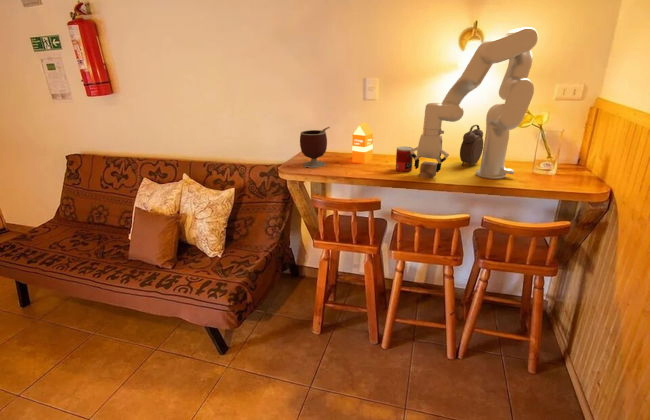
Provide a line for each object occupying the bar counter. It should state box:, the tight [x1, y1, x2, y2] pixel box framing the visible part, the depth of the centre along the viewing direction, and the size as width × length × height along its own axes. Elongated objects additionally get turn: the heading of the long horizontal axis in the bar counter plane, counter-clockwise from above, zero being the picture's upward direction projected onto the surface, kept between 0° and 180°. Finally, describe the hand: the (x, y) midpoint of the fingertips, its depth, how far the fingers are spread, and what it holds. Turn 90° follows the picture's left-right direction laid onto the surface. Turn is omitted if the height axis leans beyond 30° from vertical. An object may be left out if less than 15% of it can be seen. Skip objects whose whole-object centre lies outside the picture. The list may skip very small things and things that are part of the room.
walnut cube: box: [419, 160, 438, 180], centre depth 162 cm, size 6×6×6 cm
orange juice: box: [351, 121, 374, 164], centre depth 187 cm, size 8×9×20 cm
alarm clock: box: [459, 124, 484, 167], centre depth 175 cm, size 15×7×20 cm, turn 135°
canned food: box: [395, 146, 414, 173], centre depth 170 cm, size 8×8×11 cm
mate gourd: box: [299, 126, 330, 169], centre depth 181 cm, size 16×14×20 cm
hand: (427, 169), depth 162 cm, fingers open, 9 cm apart
